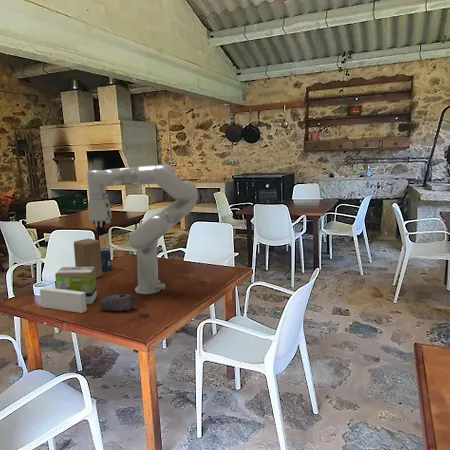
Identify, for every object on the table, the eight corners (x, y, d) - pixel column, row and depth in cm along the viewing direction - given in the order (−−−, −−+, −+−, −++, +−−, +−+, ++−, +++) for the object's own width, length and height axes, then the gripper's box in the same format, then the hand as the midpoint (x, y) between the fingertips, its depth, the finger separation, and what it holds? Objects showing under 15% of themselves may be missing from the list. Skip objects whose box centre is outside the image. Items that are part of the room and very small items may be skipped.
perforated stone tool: (97, 312, 165) (96, 296, 164) (101, 307, 170) (100, 292, 169) (133, 313, 164) (132, 297, 163) (136, 308, 170) (135, 292, 168)
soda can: (96, 270, 223) (94, 250, 221) (105, 267, 229) (103, 247, 227) (105, 272, 220) (103, 251, 218) (114, 269, 226) (112, 248, 224)
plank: (86, 310, 167) (85, 292, 166) (82, 313, 164) (80, 294, 163) (46, 304, 174) (44, 287, 172) (41, 307, 171) (39, 289, 170)
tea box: (57, 305, 172) (54, 273, 170) (64, 297, 182) (61, 266, 180) (92, 304, 174) (90, 271, 171) (97, 296, 184) (95, 265, 181)
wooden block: (86, 281, 204) (83, 243, 201) (75, 278, 210) (72, 241, 207) (103, 276, 212) (100, 240, 209) (91, 273, 218) (89, 237, 215)
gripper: (116, 195, 187) (119, 233, 190) (89, 195, 192) (93, 233, 195) (106, 197, 180) (110, 237, 183) (79, 197, 185) (83, 236, 188)
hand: (101, 234), depth 189 cm, fingers closed
